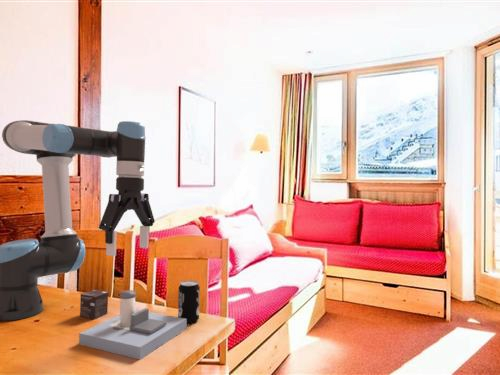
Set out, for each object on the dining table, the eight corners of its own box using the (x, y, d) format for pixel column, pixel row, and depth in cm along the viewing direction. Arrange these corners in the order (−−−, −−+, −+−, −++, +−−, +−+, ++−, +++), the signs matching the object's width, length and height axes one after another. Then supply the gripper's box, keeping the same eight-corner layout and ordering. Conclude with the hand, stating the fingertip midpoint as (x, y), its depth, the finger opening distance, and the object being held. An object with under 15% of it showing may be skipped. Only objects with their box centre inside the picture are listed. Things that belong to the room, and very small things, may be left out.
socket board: (78, 344, 96) (79, 333, 96) (132, 318, 116) (132, 308, 116) (140, 359, 89) (140, 347, 89) (186, 328, 108) (186, 318, 108)
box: (79, 317, 116) (79, 294, 116) (93, 311, 122) (94, 289, 122) (94, 320, 114) (94, 296, 114) (108, 313, 119) (108, 291, 119)
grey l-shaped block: (129, 329, 99) (129, 315, 99) (146, 320, 105) (146, 307, 105) (150, 333, 96) (151, 319, 96) (166, 324, 103) (166, 311, 103)
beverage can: (194, 325, 111) (195, 286, 111) (174, 323, 112) (175, 284, 112) (201, 317, 117) (202, 280, 117) (182, 316, 119) (183, 279, 119)
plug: (116, 335, 102) (116, 293, 102) (126, 330, 106) (127, 289, 106) (127, 338, 101) (128, 295, 101) (138, 333, 104) (138, 291, 104)
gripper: (108, 175, 90) (106, 260, 90) (167, 178, 113) (165, 246, 114) (85, 175, 93) (83, 257, 93) (147, 177, 116) (145, 244, 116)
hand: (128, 251), depth 103 cm, fingers open, 13 cm apart
